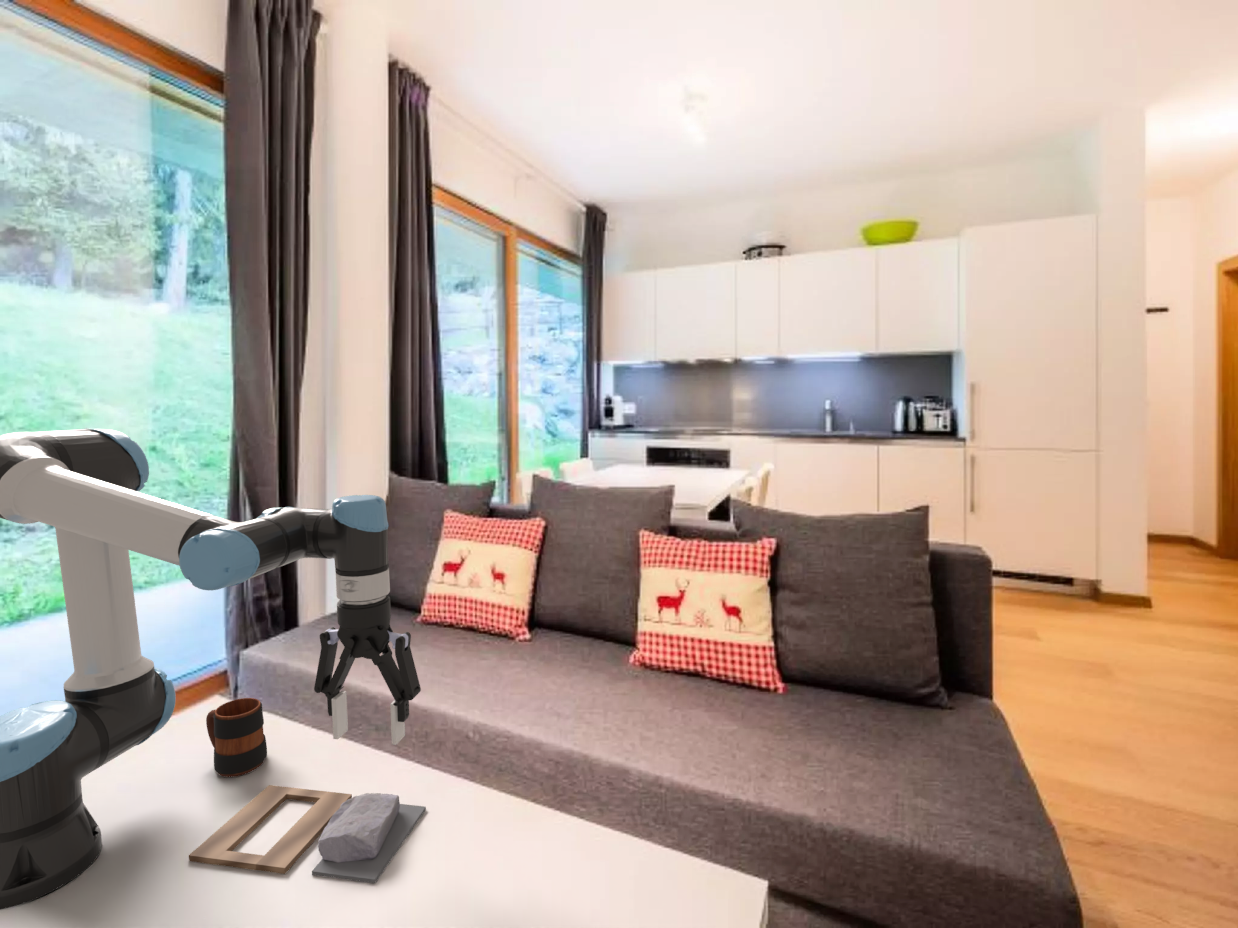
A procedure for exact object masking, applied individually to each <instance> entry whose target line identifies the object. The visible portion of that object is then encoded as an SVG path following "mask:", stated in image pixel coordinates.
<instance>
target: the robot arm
mask: <svg viewBox="0 0 1238 928" xmlns="http://www.w3.org/2000/svg"><path fill="white" fill-rule="evenodd" d="M149 475H150V467H149V463H148V459H147V456H146V454H145V453H144V450H143V449H142V448H141V446H140V445H139V444H138V443H137V442H136V441H135V440H132V439H131V437H130V436H128V435H127V434H125V433H123V432H122V431H118V430H114V429H106V428H87V427H86V428H81V429H80V428H79V429H78V428H77V429H62V430H61V429H60V430H43V431H18V432H8V433H4V434H0V519H1V520H2V519H3V520H6V521H9V522H12V523H16V524H19V525H20V524H23V525H27V524H35V523H43V524H45V525H49V526H52V527H54V529H55V530H54V531H55V536H56V537H55V538H56V545H57V551H58V557H59V558H58V559H59V566H60V573H61V579H62V588H63V596H64V602H65V609H66V617H67V624H68V625H67V626H68V632H69V641H70V649H71V655H72V656H71V657H72V661H73V662H72V663H73V669H74V671H73V673H71V675H70V676H69V677H68V678H67V679H66V680H65V681H64V683H63V692H64V693H63V694H64V699H65V700H56V699H55V700H46V701H45V700H44V701H41V702H40V701H39V702H35V703H31V704H30V705H29V706H27V707H19V708H16V709H13V710H11V711H9V712H7V713H4V714H3V715H0V910H4V909H8V908H13V907H15V906H16V907H17V906H20V905H23V904H26V903H29V902H31V901H34V900H36V899H38V898H42V897H44V896H45V895H48V894H49V893H52V892H54V891H55V890H58V889H59V888H61V887H63V886H64V885H66V884H68V883H69V882H71V881H73V879H75V878H77V877H78V876H79V875H81V874H82V873H84V872H85V871H86V870H87V869H88V868H89V867H90V866H91V865H92V864H93V863H94V862H95V860H97V858H98V856H99V855H100V853H101V851H102V848H103V842H102V831H101V829H100V827H99V825H98V823H97V822H96V820H95V818H94V817H93V816H92V814H91V812H90V811H89V809H88V808H87V807H86V805H85V803H84V800H83V789H82V779H83V778H84V777H85V776H88V775H89V774H90V773H92V772H94V771H95V770H96V771H97V769H99V768H101V767H103V766H104V765H106V764H108V763H109V762H110V761H112V760H114V759H115V758H117V757H119V756H120V755H122V754H124V753H126V752H127V751H129V750H130V749H132V748H134V747H136V746H139V745H141V744H143V743H144V742H146V741H147V740H148V739H149V738H151V737H152V736H153V735H155V734H156V733H157V732H159V731H160V730H161V729H162V728H164V727H165V725H166V724H167V723H168V721H170V718H171V717H172V715H173V713H174V711H175V707H176V697H177V695H176V690H175V685H174V683H173V682H172V680H171V679H167V678H168V674H167V673H166V672H165V671H163V670H162V669H160V668H158V667H156V666H155V663H154V662H155V661H153V660H151V659H149V658H147V657H145V656H143V655H142V649H141V639H140V633H139V632H140V631H139V625H138V617H137V609H136V599H135V594H134V593H135V592H134V591H135V590H134V585H133V577H132V575H133V574H132V568H131V561H130V552H135V553H137V554H141V555H144V556H147V557H150V558H154V559H157V560H160V561H162V562H167V563H168V564H172V565H176V566H179V568H180V571H181V573H182V575H183V576H184V578H185V579H186V580H189V582H190V583H191V585H192V586H194V587H195V588H198V589H199V590H203V591H217V590H221V589H224V588H225V589H226V588H229V587H234V586H238V585H240V584H242V583H245V582H246V581H248V580H251V579H253V578H255V577H257V576H260V575H263V574H265V573H267V572H270V571H272V570H275V569H278V568H281V567H283V566H286V565H289V564H291V563H293V562H296V561H299V560H300V559H301V560H302V559H325V560H327V559H329V560H331V559H334V568H335V588H336V590H335V591H336V598H337V599H338V601H337V603H336V612H337V613H336V616H337V624H338V626H339V627H338V629H336V628H335V626H332V627H329V628H328V629H326V630H325V631H323V632H320V634H319V640H320V646H321V648H320V654H319V659H318V665H317V671H316V676H315V681H314V685H313V686H314V687H313V689H314V692H315V693H316V694H320V693H321V694H324V695H325V697H326V698H327V715H328V716H329V717H332V718H331V719H332V734H333V735H332V739H333V740H339V739H340V738H341V737H342V736H343V735H344V734H346V733H347V732H348V731H349V724H348V722H349V720H348V719H349V718H348V700H347V699H348V698H347V690H342V689H344V687H345V686H344V684H345V681H346V679H347V677H348V675H349V673H350V671H351V668H352V666H353V664H354V661H355V660H356V659H361V658H363V659H367V660H371V661H372V663H373V665H374V666H377V668H378V670H379V673H380V674H381V676H382V678H383V680H384V682H385V684H386V685H387V688H388V690H389V692H390V694H391V696H392V697H393V701H392V702H391V703H390V704H389V705H390V734H391V737H390V738H391V745H394V746H395V745H396V746H397V745H398V744H399V743H400V742H401V740H402V739H403V738H404V737H405V736H406V724H405V722H406V720H407V719H408V718H409V716H410V701H413V699H414V698H416V697H417V696H418V695H419V694H420V692H421V691H422V688H421V683H420V681H419V677H418V673H417V672H418V671H417V668H416V665H415V661H414V658H413V657H414V656H413V654H412V653H413V652H412V649H411V641H412V639H411V638H412V635H411V633H410V632H408V631H405V632H403V633H397V632H394V631H393V629H392V628H391V619H392V618H391V617H392V613H391V612H392V611H391V597H390V595H389V593H390V592H391V584H390V582H391V581H390V580H391V579H390V567H389V565H390V564H389V540H388V539H389V538H388V537H389V535H388V533H389V527H390V525H389V521H388V515H387V514H388V513H387V504H386V501H385V500H384V498H383V497H382V496H378V495H374V494H359V495H358V494H354V495H345V496H340V497H337V498H335V499H333V502H332V506H331V507H332V508H311V507H310V508H309V507H307V508H306V507H296V506H295V507H294V506H287V505H286V506H285V507H271V508H268V509H265V510H263V511H262V512H261V514H260V515H259V516H257V517H256V518H254V519H250V520H246V521H234V520H230V519H227V518H223V517H220V516H217V515H213V514H212V513H211V514H210V513H208V512H204V511H200V510H197V509H194V508H191V507H188V506H184V505H182V504H179V503H176V502H171V501H169V500H166V499H163V498H162V499H161V498H160V497H156V496H152V495H149V494H145V493H143V492H140V491H142V489H144V487H145V483H147V482H148V480H149ZM339 641H340V642H341V644H342V646H343V647H344V648H343V650H342V652H341V654H340V656H339V661H338V663H337V666H336V667H335V662H336V655H337V650H338V644H339V643H338V642H339ZM390 642H391V644H392V646H390V645H389V643H390ZM391 647H392V648H391ZM392 649H393V650H394V654H395V655H394V656H395V659H394V658H393V651H392ZM395 660H396V662H395ZM334 667H335V670H334ZM333 671H334V672H333Z"/></svg>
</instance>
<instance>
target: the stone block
mask: <svg viewBox="0 0 1238 928" xmlns="http://www.w3.org/2000/svg"><path fill="white" fill-rule="evenodd" d="M400 804H401V802H400V796H399V795H398V794H393V793H381V792H380V793H378V792H377V793H376V792H375V793H374V792H371V793H369V792H367V793H362V794H360V795H355V796H352V798H351V799H348V800H347V801H345V802H343V803H342V804H341V806H340V808H339V809H338V810H337V811H336V812H335V813H334V814H333V816H332V817H331V819H330V821H329V822H328V825H327V826H326V827H325V828H324V830H323V832H322V834H321V835H320V836H319V838H318V844H317V847H318V852H319V855H320V856H321V858H322V859H324V860H329V861H333V862H336V863H341V862H347V861H360V860H366V859H374V858H375V857H376V856H377V855H378V853H379V851H380V849H381V847H382V845H383V843H384V841H385V839H386V837H387V835H388V833H389V831H390V829H391V827H392V824H393V823H394V820H395V818H396V817H397V814H398V812H399V808H400Z"/></svg>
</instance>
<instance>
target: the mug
mask: <svg viewBox="0 0 1238 928" xmlns="http://www.w3.org/2000/svg"><path fill="white" fill-rule="evenodd" d="M263 711H264V710H263V704H262V702H261V701H260V699H257V698H253V697H242V698H237V699H234V700H230V701H227V702H224V703H223V704H220V705H219V706H218V707H217V708H216V709H212V710H210V711H208V714H207V715H206V720H205V722H206V724H205V725H206V731H207V733H208V739H209V740H210V743H211V745H212V746H213V768H214V769H213V770H214V772H215V773H217V774H218V775H219V776H220V777H223V778H237V777H240V776H243V775H247V774H250V773H252V772H254V771H256V770H257V769H259V768H260V767H261V766H262V765H263V764H264V762H265V760H266V759H267V758H268V757H267V756H268V747H267V739H266V735H265V733H264V724H265V720H264V712H263Z"/></svg>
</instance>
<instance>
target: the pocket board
mask: <svg viewBox="0 0 1238 928" xmlns="http://www.w3.org/2000/svg"><path fill="white" fill-rule="evenodd" d="M351 798H353V795H352V794H351V793H344V792H333V791H327V790H326V791H325V790H319V789H318V790H316V789H308V788H299V787H298V788H297V787H290V786H282V785H270V784H269V785H267V786H266V787H265V788H264V789H263V790H262V791H260V792H259V793H258V794H256V796H255V797H254V798H252V800H250V801H249V802H248V803H247V804H246V805H245V806H243V807H242V808H241V809H240V810H239V811H238V812H236V813H235V814H234V815H233V816H232V817H230V818H229V820H227V821H226V822H225V823H224V824H222V826H220V827H219V828H218V829H217V830H216V831H214V832H213V833H212V834H211V835H210V836H209V837H208V838H207V839H206V840H205V841H203V842H202V843H201V844H200V845H199V846H197V847H196V848H195V849H194V850H193V851H192V852H191V853H189V854H188V862H190V863H198V864H206V865H211V866H212V865H213V866H221V867H229V868H236V869H242V870H249V871H250V870H251V871H259V872H264V873H265V872H266V873H274V874H280V875H286V874H287V873H288V872H289V871H290V869H291V868H292V867H293V866H294V865H295V864H296V862H298V861H299V859H300V858H301V857H302V856H303V855H304V854H305V853H306V852H307V851H308V849H310V847H311V846H312V845H313V844H314V843H315V841H317V839H319V838H320V837H321V834H322V832H323V830H324V828H325V827H326V826H327V825H328V822H329V821H330V819H331V817H332V816H333V814H334V813H335V812H336V811H337V810H338V809H339V808H340V806H341V804H342V803H343V802H345V801H347V800H348V799H351ZM287 800H289V801H298V802H305V803H306V802H307V803H314V804H313V805H312V806H311V807H310V808H309V809H308V810H307V811H306V812H305V813H304V814H303V815H301V817H300V818H299V819H298V820H297V822H295V823H294V825H292V826H291V827H290V828H289V829H288V830H287V832H285V833H284V834H283V835H282V837H280V839H279V840H278V841H277V842H276V843H275V844H274V845H272V846H271V848H270V849H268V851H267V852H266V853H265V854H256V853H249V852H240V851H234V850H235V849H236V848H237V847H238V846H239V845H240V844H241V843H243V841H244V840H245V839H247V838H248V837H249V835H250V834H252V833H253V832H254V831H255V830H256V829H257V828H258V827H259V826H260V825H261V824H262V823H264V821H266V820H267V819H268V818H269V817H270V816H271V815H272V814H273V813H274V812H275V811H276V810H277V809H278V808H279V807H281V805H283V803H284V802H286V801H287Z"/></svg>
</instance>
